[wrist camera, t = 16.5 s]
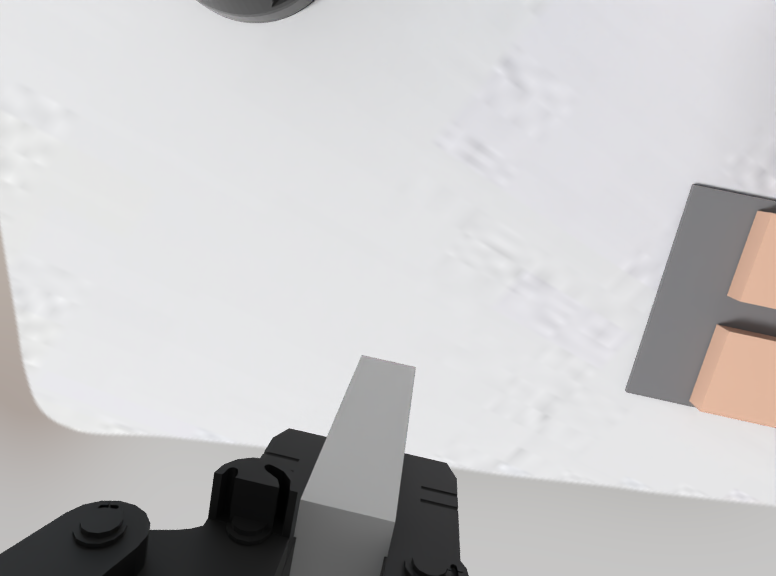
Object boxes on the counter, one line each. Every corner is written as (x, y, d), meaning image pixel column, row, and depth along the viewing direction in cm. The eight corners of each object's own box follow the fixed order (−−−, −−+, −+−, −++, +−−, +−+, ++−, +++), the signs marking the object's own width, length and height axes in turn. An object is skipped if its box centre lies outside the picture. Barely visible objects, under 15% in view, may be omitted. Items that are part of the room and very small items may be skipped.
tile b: (729, 331, 43) (858, 358, 42) (715, 323, 45) (838, 350, 45) (699, 411, 45) (823, 438, 44) (688, 400, 47) (806, 426, 46)
